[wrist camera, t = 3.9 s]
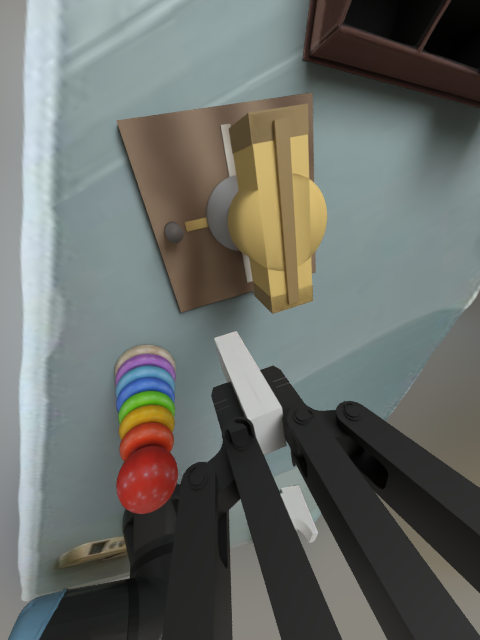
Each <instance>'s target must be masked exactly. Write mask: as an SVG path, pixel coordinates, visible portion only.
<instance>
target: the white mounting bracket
mask: <svg viewBox="0 0 480 640" xmlns="http://www.w3.org/2000/svg"><path fill="white" fill-rule="evenodd" d="M280 495H281V497H282V499H283V502H284V504H285V506H286V509H287V511H288V513H289V516H290V518H291V520H292V523H293V525H294V528H295V530H297V529H299V530H300V531H301V532H302V533H303V534H304V535H305V536H306V538H307V540H308V542H309V543H310V542H314V540H315V538H316V536H317V535H318V532H317V529H316V527H315V524H314V522H313V519H312V517H311V514H310V512H309V510H308V507H307V505H306V502H305V500H304V497H303V495H302V492H301V490H300V488H299V485H297V486H290V487H285V488H281V491H280Z"/></svg>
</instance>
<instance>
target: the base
mask: <svg viewBox="0 0 480 640" xmlns="http://www.w3.org/2000/svg"><path fill="white" fill-rule="evenodd" d="M302 104H308V124H309V134H308V151H309V179H310V180H311V181H313V182H314V153H313V95H312V93H306V94H299V95H292V96H285V97H278V98H271V99H264V100H257V101H250V102H243V103H236V104H229V105H222V106H215V107H208V108H201V109H194V110H187V111H180V112H173V113H166V114H159V115H152V116H145V117H138V118H131V119H124V120H117V123H118V126H119V129H120V132H121V135H122V138H123V141H124V144H125V147H126V150H127V153H128V156H129V159H130V162H131V165H132V168H133V171H134V174H135V177H136V180H137V183H138V186H139V189H140V192H141V195H142V198H143V201H144V204H145V207H146V210H147V213H148V216H149V219H150V222H151V225H152V228H153V231H154V234H155V237H156V240H157V243H158V246H159V248H160V251H161V254H162V257H163V260H164V263H165V266H166V269H167V272H168V275H169V278H170V281H171V284H172V287H173V290H174V293H175V296H176V299H177V302H178V305H179V308H180V311H181V312H184V311H188V310H191V309H194V308H198V307H201V306H204V305H208V304H211V303H215V302H218V301H221V300H225V299H228V298H231V297H235V296H238V295H241V294H245V293H248V292H252V291H254V289H253V279H252V273H251V266H250V260H249V257H248V256H246V255H245V254H243V253H242V252H241V251H240V250H239V249H238V248H237V247H236V246H235V244H234V243H233V241H232V239H231V236H230V233H229V229H228V212H229V208H230V205H231V202H232V200H233V198H234V196H235V195H236V193H237V192H238V191H239V189H238V183H237V176H236V170H235V163H234V157H233V154H232V148H231V142H230V135H229V128H230V127H231V126H232V125H234V124H235V123H236V122H237V121H239V120H240V119H241V118H242V117H243V116H245V115H246V114H247V113H249V112H256V111H262V110H269V109H275V108H282V107H288V106H295V105H302ZM311 267H312V273H315V272H316V268H315V252H314V254H313V255H312V256H311Z"/></svg>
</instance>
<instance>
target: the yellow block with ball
mask: <svg viewBox="0 0 480 640" xmlns="http://www.w3.org/2000/svg"><path fill="white" fill-rule="evenodd" d="M308 134H309V124H308V104H302V105H295V106H288V107H282V108H275V109H269V110H262V111H256V112H249V113H247V114H246V115H245V116H243V117H242V118H241V119H240V120H239V121H237V122H236V123H235V124H234V125H232V126H231V127H230V128H229V135H230V142H231V148H232V154H233V157H234V163H235V170H236V176H237V183H238V189H239V191H238V192H237V193H236V195H235V196H234V198H233V200H232V202H231V205H230V208H229V212H228V229H229V233H230V236H231V239H232V241H233V243H234V244H235V246H236V247H237V248H238V249H239V250H240V251H241V252H242V253H243V254H245V255H246V256H248V257H249V260H250V266H251V273H252V279H253V289H254V295H255V297H256V298H257V299H258V300H259V301H260V302H261V303H262V304H263V305H264V306H265V307H266V308H267V309H268V310H269V311H270V312H271V313H272V314H274V313H277V312H280V311H283V310H286V309H289V308H292V307H295V306H298V305H302V304H305V303H308V302H311V301H313V286H312V267H311V256H312V255H313V254H314V252H315V251H316V250H317V248H318V247H319V245H320V243H321V241H322V238H323V236H324V233H325V229H326V223H327V209H326V203H325V200H324V197H323V195H322V193H321V191H320V189H319V188H318V187H317V185H316V184H315V183H314V182H313V181H311V180H310V179H309V151H308Z"/></svg>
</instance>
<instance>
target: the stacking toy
mask: <svg viewBox="0 0 480 640" xmlns="http://www.w3.org/2000/svg"><path fill="white" fill-rule="evenodd" d="M175 370H176V366H175V361H174V359H173V357H172V355H171V354H170V353H169V352H168V351H166V350H165V349H163V348H161V347H158V346H154V345H140V346H136V347H133V348H131V349H129V350H127V351H126V352H125V353H124V354H122V355H121V357H120V358H119V359H118V361H117V363H116V366H115V384H116V398H117V401H116V407H117V411H118V413H119V414H118V420H119V424H120V427H119V435H120V438H121V440H122V441H121V443H120V455H121V458H122V459H123V461H124V464H123V465H122V467H121V469H120V471H119V474H118V478H117V486H116V488H117V495H118V498H119V500H120V502H121V504H122V505H123V506H124V507H125V508H126V509H127V510H129V511H131V512H133V513H137V514H146V513H150V512H153V511H155V510H157V509H159V508H160V507H161V506H163V505H164V504H165V503H166V502H167V501H168V499H169V498H170V497H171V495H172V494H173V492H174V489H175V487H176V484H177V478H178V469H177V464H176V461H175V459H174V457H173V456H172V454H171V453H170V452H171V450H172V448H173V444H174V437H173V434H172V432H173V429H174V424H175V421H174V415H175V406H174V400H175V395H174V392H175V378H176V374H175Z"/></svg>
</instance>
